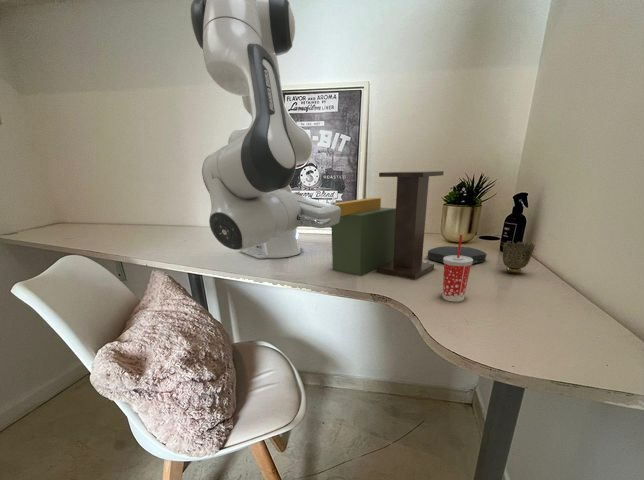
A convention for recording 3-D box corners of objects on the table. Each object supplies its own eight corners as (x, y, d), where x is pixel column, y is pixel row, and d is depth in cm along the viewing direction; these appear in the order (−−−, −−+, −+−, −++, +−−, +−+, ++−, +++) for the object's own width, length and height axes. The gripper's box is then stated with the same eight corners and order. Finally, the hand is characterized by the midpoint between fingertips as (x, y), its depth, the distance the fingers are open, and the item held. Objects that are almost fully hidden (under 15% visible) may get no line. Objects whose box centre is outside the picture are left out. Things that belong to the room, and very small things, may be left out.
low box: (332, 269, 98) (330, 212, 91) (367, 257, 111) (367, 206, 104) (360, 275, 92) (360, 215, 86) (393, 261, 105) (395, 208, 98)
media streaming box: (422, 257, 108) (422, 248, 107) (454, 252, 114) (455, 243, 113) (457, 268, 96) (458, 258, 95) (490, 261, 103) (492, 251, 102)
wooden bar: (323, 216, 84) (323, 204, 83) (372, 208, 100) (372, 197, 99) (333, 217, 82) (332, 205, 81) (380, 208, 98) (380, 198, 97)
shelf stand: (376, 272, 94) (379, 172, 84) (397, 263, 103) (402, 171, 92) (414, 279, 88) (423, 172, 77) (434, 269, 96) (443, 171, 85)
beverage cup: (459, 292, 78) (467, 231, 73) (472, 301, 73) (482, 237, 67) (434, 294, 77) (440, 233, 72) (446, 303, 72) (454, 238, 66)
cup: (501, 267, 96) (506, 239, 93) (530, 271, 92) (536, 242, 89) (495, 274, 91) (500, 244, 87) (525, 278, 87) (532, 247, 84)
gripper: (322, 209, 65) (355, 197, 75) (243, 186, 72) (282, 177, 83) (320, 240, 69) (351, 224, 79) (244, 215, 76) (282, 203, 86)
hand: (315, 200), depth 81 cm, fingers open, 8 cm apart
